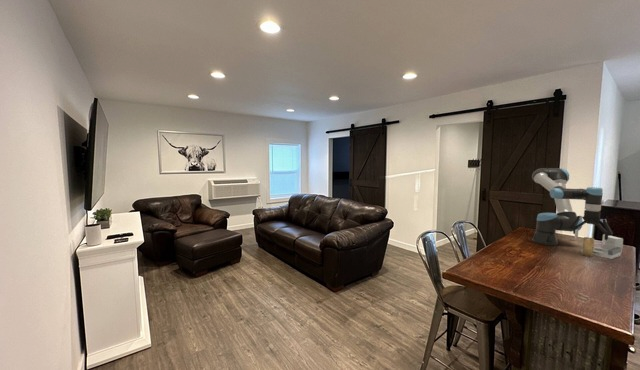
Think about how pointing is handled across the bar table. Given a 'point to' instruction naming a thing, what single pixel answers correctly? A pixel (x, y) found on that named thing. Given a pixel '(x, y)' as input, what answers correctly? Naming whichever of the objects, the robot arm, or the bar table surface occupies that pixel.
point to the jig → (606, 252)
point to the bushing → (588, 246)
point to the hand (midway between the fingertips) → (589, 241)
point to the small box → (613, 243)
